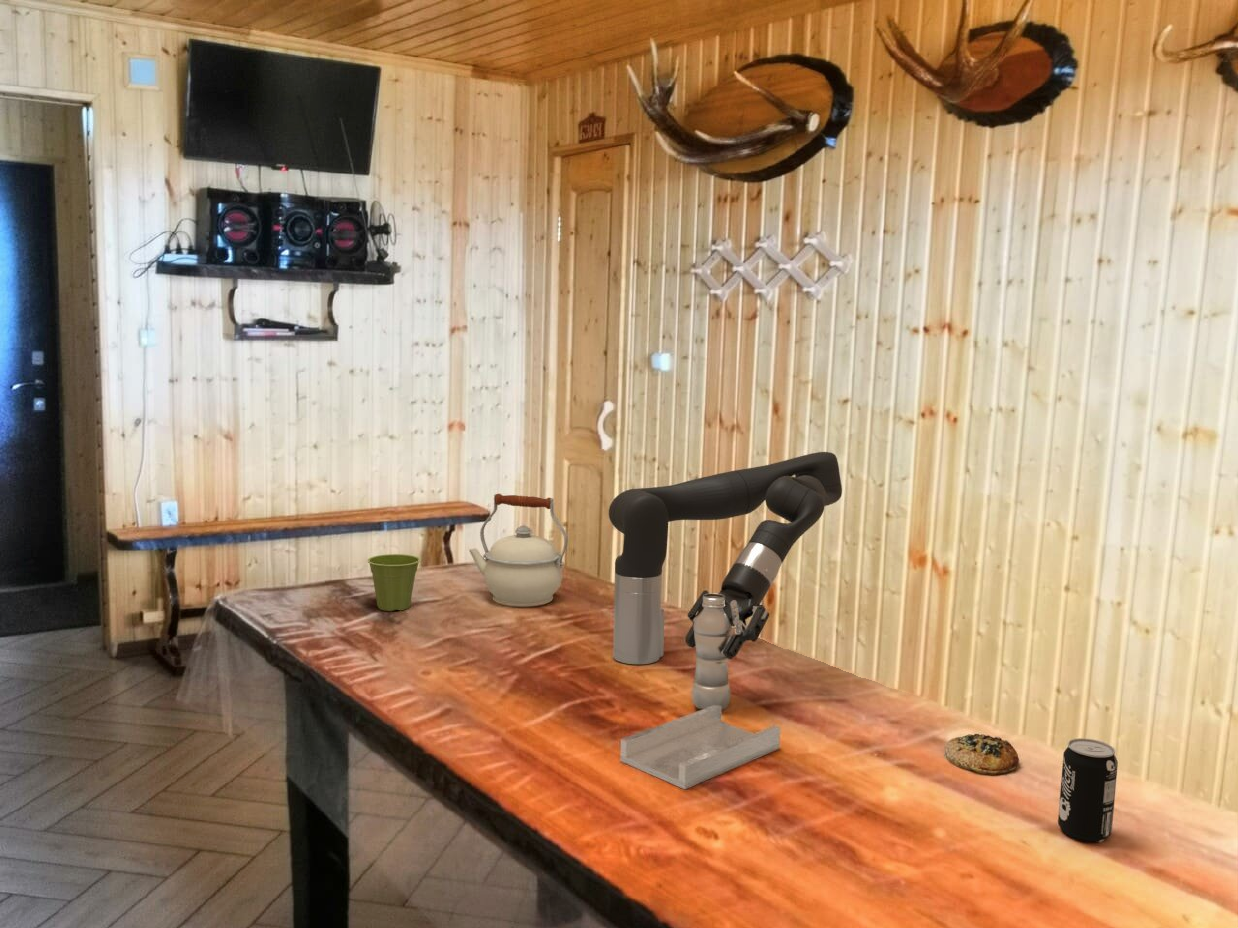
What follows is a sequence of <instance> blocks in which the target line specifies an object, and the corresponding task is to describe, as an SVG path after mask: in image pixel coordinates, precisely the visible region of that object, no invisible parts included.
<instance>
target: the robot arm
mask: <svg viewBox="0 0 1238 928" xmlns="http://www.w3.org/2000/svg"><path fill="white" fill-rule="evenodd" d="M842 486H843V485H842V480H841V474H840V467H839V462H838V458H837V456H836V454H834V453H833V452H831V451H819V452H813V453H808V454H804V455H801V456H796V457H793V458H788V459H785V460H782V461H779V462H774V463H768V464H765V465H761V466H755V467H749V468H747V467H746V468H743V469H741V468H740V469H736V470H731V471H725V472H719V473H716V474H711V475H708V476H704V477H703V476H702V477H699V478H695V479H691V480H687V481H684V482H680V483H676V484H672V485H671V484H670V485H663V486H656V487H654V486H653V487H645V488H644V487H643V488H641V487H640V488H630V489H627V490H625V491H622V492H621V493H619V494H618V495H616V497H614V498H613V500H612V502H611V503H610V505H609V509H608V518H609V521H610V522H611V524H612V525H613V527H614V528H615V529H616V530H617V531H619V533H622V534H623V545H622V546H623V547H622V553H621V555H618V556H617V557H616V559H615V562H614V595H613V596H614V598H613V599H614V602H613V603H614V604H613V606H614V607H613V648H612V649H613V651H612V652H613V654H612V655H613V659H614V660H615V661H617V662H620V663H623V664H628V665H648V664H654V663H655V662H658V661H660V660H661V659H660V658H663V657H664V645H665V644H664V642H665V641H664V639H665V637H664V635H665V610H664V608H662V586H663V585H662V583H663V582H662V581H663V579H662V578H663V565H664V563H665V560H666V557H667V550H668V538H669V537H668V536H669V522H676V521H718V520H727V519H731V518H735V517H740V516H744V515H745V516H746V515H748V514H750V513H751V514H752V513H753V512H754V511H756V510H757V509H758V508H759V507H760V506H761V505H762V504H763V503H764V502H765V505H766V507H767V509H768V510H769V511H770V512H771V513H772V514H775V515H776V516H778V517H781V518H782V519H784V520H785V521H788V523H786V522H785V523H784V522H780V521H777V520H776V521H775V520H771V519H766V520H765V519H764V520H763V521H761V522H760V523H759V524H758V526H757V527H756V529H755V530H754V532H753V534H752V536H751V537H750V539H749V541H748V542H747V544H746V545H745V546H744V548H743V549H742V550H741V551H740V553H739V554H738V556H737V558H736V559H735V561H734V563H733V564H732V566H731V568H730V570H729V571H728V573H727V575H726V576H725V578H724V580H723V581H722V583H721V589H720V590H719V592H718V593H717V594H722V595H724V596H725V608H723V610H724V612H725V613H726V615H727V616H728V618H729V620H730V621H731V625H732V627H733V628H734V634H731V638H730V640H729V642H728V644H727V645H726V647H725V649H724V651H723V654H724V655H725V656H726V658H728V660H733V658H734V657H736V656H737V655H738V653H739V651H740V649H741V648H742V646H743V644H744V643H746V642H748V641H751V642H753V643H755V642H757V641H758V639H759V637H760V635H761V633H762V631H763V629H764V627H765V625H766V623H767V621H768V619H769V617H770V612H769V610H768V609H766V608H765V606H764V604H762V602H763V601H764V598H765V596H766V595H767V592H768V591H769V590H770V588H771V586H772V584H773V583H774V581H775V579H776V578H777V576H778V574H779V571H780V569H781V566H782V564H783V563H784V560H785V559H786V557H787V556H788V554H789V552H791V551H790V550H791V549H792V547H793V546H794V544H795V543H796V542H797V540H799V539H800V538H801V536H803V535H804V534H805V533H806V532H807V531H809V530H810V529H811V527H813V526H814V525H815V524H816V523H818V521H819V520H820V519H821V517H822V515H823V514H824V511H825V508H826V507H827V506H830V505H833V504H836V503H837V502H839V500H840V499H841V497H842V494H843V487H842ZM709 593H710V592H709V590H703V591H702V592H701V593H700V595H699V597H698V598H697V600H696V601H695V602H694V604H693V605H692V607H691V608H690V610H689V612H688V613H687V618H688V619H689V620H690V621H691V622H692V625H691V627H690V628H689V630H688V632H687V634H686V635H685V639H684V641H685V643H686V644H687V646H688V647H690V648H691V649H692V648H696V645H695V637H694V627H693V625H694V622H695V619H696V618H697V616H698V615H699V614H700V612H701V611H702V610H703V608H704V607H702V603H703V595H704V594H709ZM749 618H751V619H750V621H749V623H748V622H747V619H749Z"/></svg>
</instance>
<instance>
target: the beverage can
mask: <svg viewBox="0 0 1238 928" xmlns="http://www.w3.org/2000/svg"><path fill="white" fill-rule="evenodd" d="M1118 764H1119V762H1118V758H1117V757H1116V749H1115V748H1114V747H1113V746H1112V745H1110V744H1108V743H1106V742H1104V741H1101V740H1098V739H1093V738H1073V739H1070V740H1068V741H1067V748H1066V749H1065V750H1064V752H1063V756H1062V766H1061V767H1062V768H1061V780H1060V781H1061V782H1060V793H1059V803H1058V804H1059V806H1058V818H1057V824H1058V826H1059V828H1060V829H1061V831H1062V832H1063V833H1064V834H1065V835H1066V836H1067V837H1070V838H1072V839H1074V840H1077V841H1080V842H1086V843H1101V842H1103V841H1106V839H1108V838H1109V837H1111V835H1112V832H1113V821H1114V811H1115V799H1116V798H1115V797H1116V790H1117V789H1116V788H1117V776H1118V767H1119V766H1118Z"/></svg>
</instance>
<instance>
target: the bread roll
mask: <svg viewBox="0 0 1238 928" xmlns="http://www.w3.org/2000/svg"><path fill="white" fill-rule="evenodd" d="M943 756H944V757H945V758H946V759H947V761H949V762H950V763H952V764H953V765H954V766H956V767H959V768H961V769H965V770H971V771H973V772H975V773H978V774H983V775H990V776H996V775H997V776H998V775H1004V774H1007V773H1009V772H1010V773H1011V772H1013V771H1015V770H1016V769H1017V768H1018V767H1019V761H1020V760H1019V754H1018V751H1016V749H1015V748H1014V746H1013V745H1012V744H1011V743H1010V742H1009V741H1008V739H1007V740H1004V739H1002V737H1000V736H995V737H993V736H991V735H988V734H987V735H986V734H984V733H983V734H980V733H974V734H969V733H968V734H967V735H966V734H965V735H963V736H957V737H954V738H951V739H950V740H948V741H947V742H946V743H945V744H944V754H943Z"/></svg>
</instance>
